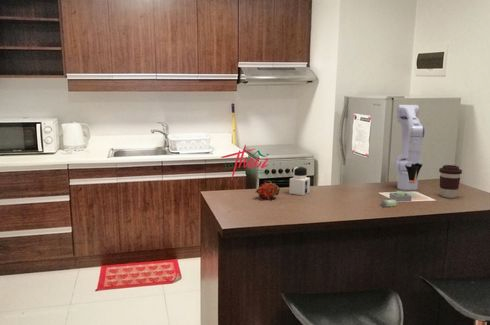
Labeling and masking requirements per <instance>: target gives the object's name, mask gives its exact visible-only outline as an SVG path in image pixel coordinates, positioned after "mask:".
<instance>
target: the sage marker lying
mask: <svg viewBox="0 0 490 325" xmlns="http://www.w3.org/2000/svg"><path fill="white" fill-rule="evenodd" d="M379 204H380V205H381V208H382V209H383V208H389V207H397V205H398V202H396V200H391V199H381V200H380V203H379Z"/></svg>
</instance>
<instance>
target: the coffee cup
mask: <svg viewBox="0 0 490 325" xmlns="http://www.w3.org/2000/svg"><path fill="white" fill-rule="evenodd" d="M438 172H439V174H440V175H439V192H440V193H439V194H440V197H442V198H446V199H447V198H449V199H455V198H457V197H458V196H457V195H458V190H459V188H460V182H461V181H460V180H461V175H462V174H463V169H460V167H459V166H458V165H453V164H444V165H442V167H439V169H438Z"/></svg>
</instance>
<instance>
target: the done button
mask: <svg viewBox="0 0 490 325" xmlns="http://www.w3.org/2000/svg"><path fill="white" fill-rule="evenodd" d="M395 192H396V195H398V196H405V192H406V191H405V190H396V191H395Z"/></svg>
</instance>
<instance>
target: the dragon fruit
mask: <svg viewBox="0 0 490 325" xmlns="http://www.w3.org/2000/svg"><path fill="white" fill-rule="evenodd" d="M280 190H281V189H280V186H278V184H277V183H272V182H271V181H269V182H263V184H260V185H259V187H258V188H257V189H256V191H255V193H256V194H257V197H259V198H261V199H267V200H270V199H274V197H276V196H277V197H278V196H279V194H280Z"/></svg>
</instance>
